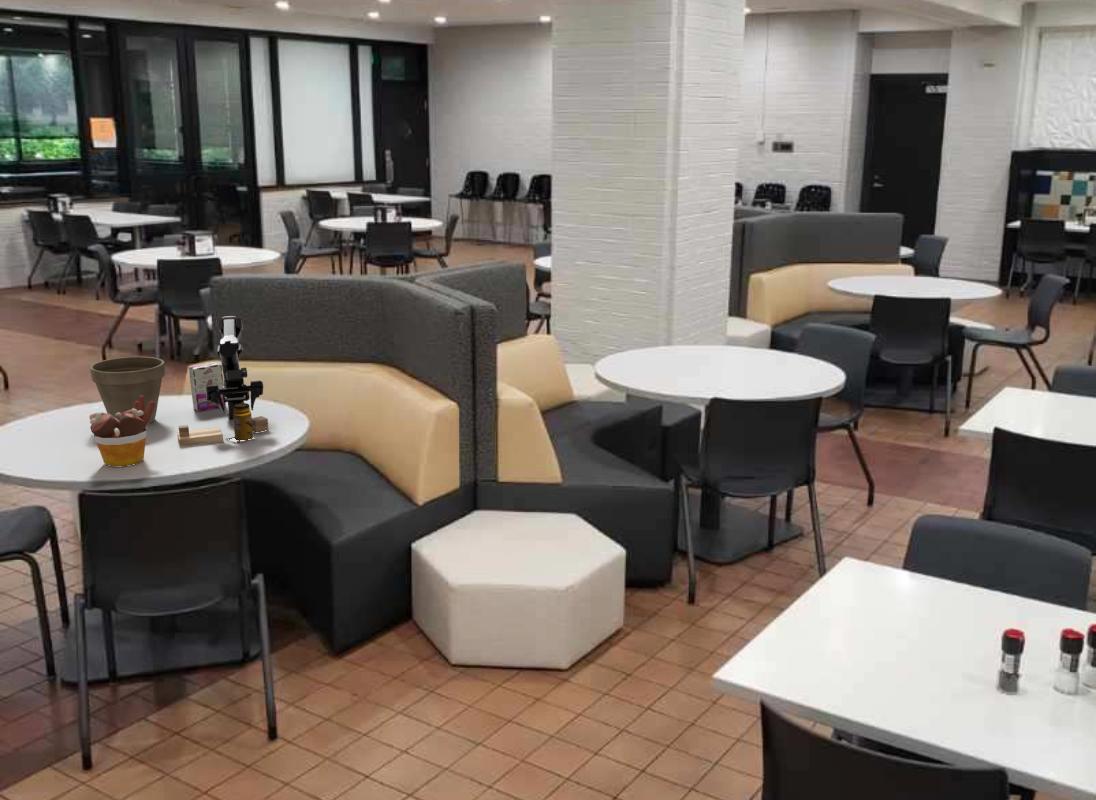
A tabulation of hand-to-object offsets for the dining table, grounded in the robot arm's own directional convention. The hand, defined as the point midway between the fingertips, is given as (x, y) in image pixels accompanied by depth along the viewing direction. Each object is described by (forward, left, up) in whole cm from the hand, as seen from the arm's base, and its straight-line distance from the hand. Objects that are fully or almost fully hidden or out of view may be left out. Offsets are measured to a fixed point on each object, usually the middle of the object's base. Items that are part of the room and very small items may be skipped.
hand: (238, 411), depth 367 cm
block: (-6, +7, -9) cm, 13 cm away
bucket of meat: (+12, -37, -9) cm, 40 cm away
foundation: (-2, -13, -9) cm, 16 cm away
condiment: (+2, 0, -9) cm, 10 cm away
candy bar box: (-46, -6, -9) cm, 47 cm away
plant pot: (-37, -33, -9) cm, 50 cm away
